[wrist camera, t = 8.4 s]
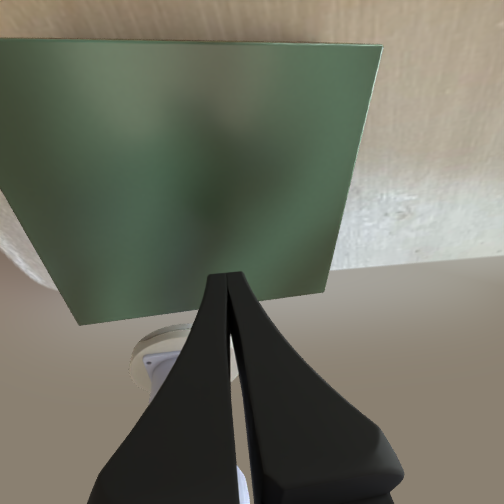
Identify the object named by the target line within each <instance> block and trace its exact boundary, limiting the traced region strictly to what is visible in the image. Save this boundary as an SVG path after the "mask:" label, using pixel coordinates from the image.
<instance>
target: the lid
mask: <svg viewBox="0 0 504 504" xmlns="http://www.w3.org/2000/svg"><path fill="white" fill-rule="evenodd" d="M382 51H383V45H382V44H341V43H280V42H218V41H157V40H95V39H33V38H0V189H1V191H2V192H3V194H4V196H5V198H6V199H7V201H8V203H9V205H10V206H11V208H12V210H13V212H14V213H15V215H16V217H17V219H18V220H19V222H20V224H21V226H22V227H23V229H24V231H25V233H26V234H27V236H28V238H29V240H30V241H31V243H32V245H33V247H34V248H35V250H36V252H37V253H38V255H39V257H40V259H41V260H42V262H43V264H44V266H45V267H46V269H47V271H48V273H49V274H50V276H51V278H52V280H53V281H54V283H55V285H56V287H57V288H58V290H59V292H60V294H61V295H62V297H63V299H64V301H65V302H66V304H67V306H68V308H69V309H70V311H71V313H72V314H73V316H74V318H75V320H76V321H77V323H78V325H80V326H81V325H88V324H96V323H103V322H110V321H118V320H125V319H132V318H139V317H146V316H154V315H162V314H169V313H176V312H184V311H191V310H198V309H199V307H200V304H201V302H202V298H203V295H204V291H205V287H206V282H207V276H208V275H209V274H216V273H227V272H237V271H242V272H243V273H244V274H245V277H246V279H247V281H248V283H249V285H250V287H251V289H252V291H253V293H254V295H255V296H256V298H257V300H258V301H264V300H271V299H279V298H285V297H293V296H301V295H307V294H315V293H323V292H324V290H325V286H326V282H327V278H328V273H329V270H330V266H331V262H332V258H333V253H334V249H335V245H336V241H337V237H338V233H339V229H340V225H341V220H342V216H343V212H344V208H345V204H346V200H347V196H348V191H349V187H350V183H351V179H352V175H353V171H354V167H355V163H356V158H357V154H358V150H359V146H360V142H361V138H362V134H363V130H364V125H365V121H366V117H367V113H368V109H369V105H370V101H371V96H372V92H373V88H374V84H375V80H376V76H377V72H378V68H379V63H380V59H381V55H382Z"/></svg>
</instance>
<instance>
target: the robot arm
mask: <svg viewBox="0 0 504 504" xmlns="http://www.w3.org/2000/svg"><path fill="white" fill-rule="evenodd" d="M230 333H231V338H232V343H233V348H234V353H235V358H236V363H237V368H238V373H239V378H240V383H241V389H242V396H243V404H244V412H245V422H246V430H247V440H248V449H249V459H250V468H251V477H252V487H253V496H254V504H394V502H393V500H392V497H391V495H390V491H392V490H393V489H394V488H395V487H396V486H397V485H398V484H399V483H400V482H401V481H402V480H403V478H404V471H403V468H402V466H401V464H400V462H399V460H398V458H397V456H396V454H395V452H394V451H393V449H392V447H391V445H390V444H389V442H388V440H387V439H386V437H385V436H384V434H383V432H382V431H381V429H380V428H379V427H378V426H377V425H376V424H375V423H373V422H372V421H371V420H370V419H368V418H367V417H366V416H365V415H363V414H362V413H361V412H360V411H359V410H357V409H356V408H355V407H354V406H353V405H351V404H350V403H349V402H348V401H347V400H346V399H344V398H343V397H342V396H341V395H340V394H339V393H338V392H336V391H335V390H334V389H333V388H332V387H331V386H330V385H329V384H328V383H326V381H325V380H324V379H322V377H320V376H319V375H318V374H317V373H316V372H315V371H314V370H313V369H312V368H311V367H310V366H309V365H308V364H307V363H306V362H305V361H304V360H303V358H301V356H300V355H299V354H298V353H297V352H296V351H295V350H294V348H292V346H291V345H290V344H289V343H288V342H287V340H286V339H285V338H284V337H283V336H282V334H281V333H280V332H279V330H278V329H277V328H276V326H275V325H274V324H273V322H272V321H271V319H270V318H269V317H268V316H267V314H266V312H265V311H264V309H263V308H262V306H261V304H260V303H259V301H258V300H257V298H256V296H255V295H254V293H253V291H252V289H251V287H250V285H249V283H248V281H247V279H246V277H245V274H244V273H243V272H242V271H237V272H227V273H216V274H209V275H208V276H207V282H206V287H205V291H204V295H203V298H202V302H201V304H200V307H199V310H198V313H197V316H196V318H195V321H194V323H193V326H192V328H191V330H190V333H189V335H188V337H187V339H186V342H185V344H184V346H183V348H182V350H180V351H171V352H163V353H155V354H147V355H144V356H143V359H142V360H143V363H144V366H145V368H146V370H147V373H148V375H149V378H150V380H151V383H152V385H151V392H150V399H149V406H148V407H147V409H146V410H145V412H144V413H143V415H142V416H141V418H140V419H139V421H138V422H137V423H136V425H135V426H134V428H133V429H132V431H131V432H130V433H129V435H128V436H127V437H126V439H125V440H124V441H123V443H122V444H121V445H120V447H119V448H118V449H117V450H116V452H115V453H114V454H113V456H112V457H111V458H110V460H109V461H108V462H107V464H106V465H105V466H104V468H103V469H102V470H101V472H100V473H99V475H98V477H97V479H96V482H95V485H94V487H93V489H92V492H91V494H90V497H89V500H88V502H87V504H250V502H249V493H248V488H247V483H246V480H245V477H244V474H243V473H242V472H241V471H240V469H239V467H238V466H237V465H236V453H235V440H234V429H233V418H232V405H231V386H230V385H231V357H230Z"/></svg>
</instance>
